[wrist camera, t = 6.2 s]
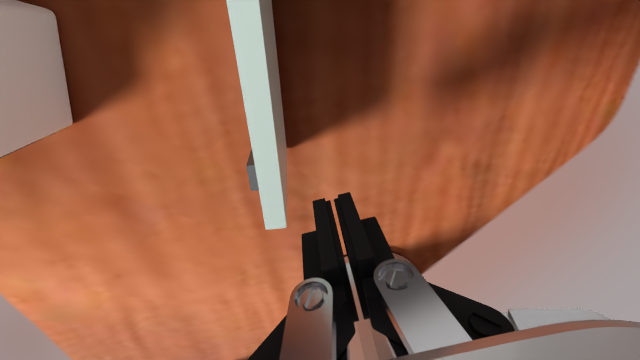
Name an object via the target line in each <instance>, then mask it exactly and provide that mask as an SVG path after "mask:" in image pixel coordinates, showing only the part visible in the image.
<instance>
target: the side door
mask: <svg viewBox="0 0 640 360" xmlns="http://www.w3.org/2000/svg"><path fill="white" fill-rule="evenodd" d="M227 6H228V12H229V18H230V24H231V30H232V35H233V41H234V47H235V53H236V59H237V65H238V70H239V76H240V82H241V88H242V94H243V100H244V105H245V111H246V117H247V123H248V129H249V135H250V140H251V146H252V149H251V152H250V155H249V159H248V162H247V165H246V166H247V172H248V177H249V182H250V188H251V191H254V190H259V193H260V199H261V205H262V210H263V216H264V222H265V228H266V230H267V229H277V228H287V147H286V137H285V127H284V118H283V108H282V98H281V88H280V79H279V69H278V59H277V50H276V40H275V30H274V20H273V11H272V1H271V0H227Z"/></svg>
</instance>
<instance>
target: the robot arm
mask: <svg viewBox="0 0 640 360" xmlns="http://www.w3.org/2000/svg"><path fill="white" fill-rule="evenodd" d="M334 202H335V206H336V211H337V215H338V219H339V223H340V227H341V231H342V236H343V240H344V244H345V248H346V252H347V256H346V257H344V255H343V251H342V247H341V243H340V239H339V235H338V231H337V226H336V222H335V218H334V214H333V210H332V206H331V202H330V200H329V201H325V198H323V199H319V200H315V201H313V209H314V217H315V224H316V231H313V232H308V233H304V234H302V253H303V273H304V281H302V282H300V283H299V284H298V285H297V286H296V287H295V288H294V290H293V291H292V293H291V296H290V300H289V306H288V312H287V315H286V316H285V318H284V319H283V320H282V321H281V322H280V323H279V324H278V326H277V327H276V328H275V329H274V330H273V331H272V332H271V334H270V335H269V336H268V337H267V338H266V339H265V340H264V342H263V343H262V344H261V345H260V346H259V347H258V348H257V350H256V351H255V352H254V353H253V354H252V355H251V356H250V358H249V359H248V360H640V322H632V321H623V320H611V319H609V318H607V317H606V316H604V315H602V314H600V313H597V312H594V311H592V310H586V309H509V310H508V313H500V312H499V311H497V310H495V309H493V308H491V307H489V306H487V305H484V304H482V303H479V302H476V301H474V300H471V299H469V298H466V297H464V296H461V295H459V294H456V293H454V292H451V291H449V290H446V289H444V288H441V287H438V286H436V285H433V284H431V283H428V282H427V281H426V280H425V279H424V277H423V276H422V275H421V274H420V272H419V271H418V270H417V268H416V267H415V266H414V265H413V264H412V263H411V262H410V261H409V260H407V259H406V258H404V257H403V256H400V255H398V254H395V253H392V251H391V249H390V247H389V245H388V243H387V241H386V238H385V236H384V234H383V232H382V230H381V228H380V226H379V224H378V221H377V219H376V218H375V217H371V218H366V219H362V220H360V218H359V215H358V212H357V210H356V207H355V204H354V202H353V199H352V196H351V194H350V192H348V193H344V194H340V195H338V198H337V199H334Z"/></svg>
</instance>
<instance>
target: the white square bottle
mask: <svg viewBox="0 0 640 360" xmlns="http://www.w3.org/2000/svg"><path fill="white" fill-rule="evenodd" d="M72 123H73V120H72V114H71V107H70V101H69V95H68V89H67V83H66V77H65V70H64V64H63V58H62V52H61V46H60V40H59V33H58V27H57V21H56V16H55V14H54V13H53V12H52V11H51V10H49V9H46V8H43V7H39V6H36V5H32V4H28V3H24V2H21V1H17V0H0V158H1V157H3V156H5V155H8V154H10V153H12V152H14V151H16V150H19V149H21V148H23V147H25V146H27V145H30V144H32V143H34V142H36V141H38V140H41V139H43V138H45V137H47V136H50V135H52V134H54V133H56V132H58V131H61V130H63V129H65V128H67V127H69V126H71V125H72Z"/></svg>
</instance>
